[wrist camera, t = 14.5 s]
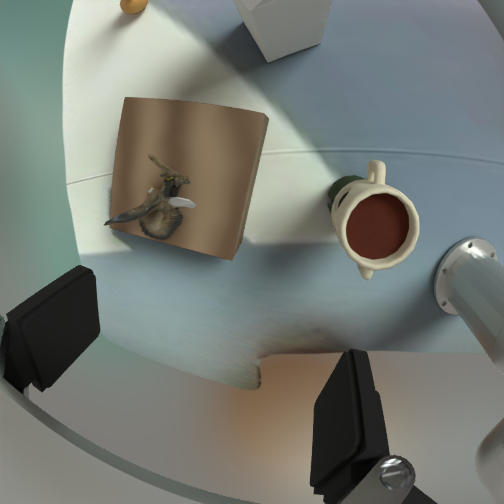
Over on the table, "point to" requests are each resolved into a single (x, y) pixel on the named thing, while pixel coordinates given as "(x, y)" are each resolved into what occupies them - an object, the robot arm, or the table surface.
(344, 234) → the character mug
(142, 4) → the figurine
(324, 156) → the table surface
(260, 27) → the milk carton
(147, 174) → the walnut block
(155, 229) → the eagle figurine
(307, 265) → the table surface
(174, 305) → the table surface
